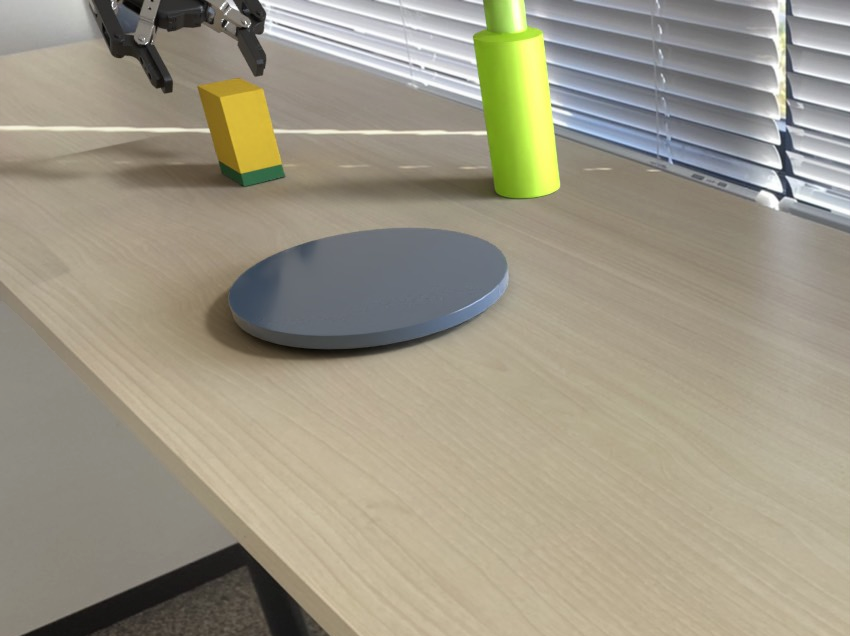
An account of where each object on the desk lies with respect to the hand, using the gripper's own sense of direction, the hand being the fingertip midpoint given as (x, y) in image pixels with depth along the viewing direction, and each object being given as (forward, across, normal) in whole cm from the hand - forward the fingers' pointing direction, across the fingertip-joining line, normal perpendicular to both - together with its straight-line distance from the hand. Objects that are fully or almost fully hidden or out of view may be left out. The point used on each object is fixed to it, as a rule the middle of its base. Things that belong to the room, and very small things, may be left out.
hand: (215, 79), depth 107 cm
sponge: (+8, 0, +4) cm, 9 cm away
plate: (+32, -5, -21) cm, 39 cm away
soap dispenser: (+24, +17, -12) cm, 32 cm away
